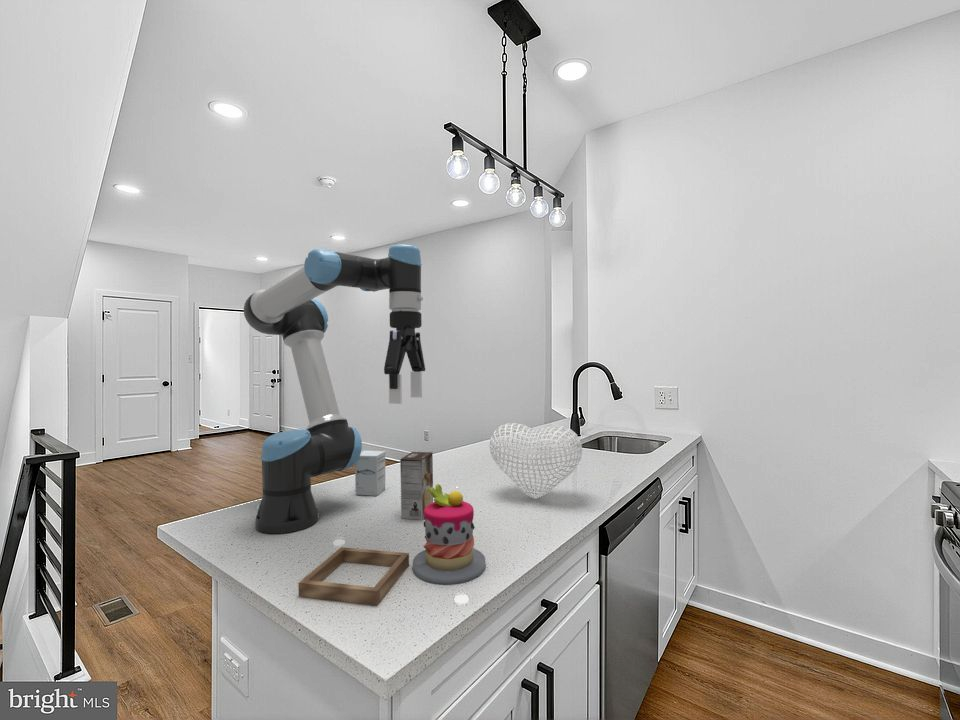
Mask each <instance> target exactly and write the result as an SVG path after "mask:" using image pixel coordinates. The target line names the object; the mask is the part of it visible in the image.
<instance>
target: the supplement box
mask: <svg viewBox="0 0 960 720" xmlns="http://www.w3.org/2000/svg"><path fill="white" fill-rule="evenodd" d="M354 466H355V470H354V471H355V473H354V474H355V475H354V477H355V485H354V486H355V490H354V492H355V496H373V497H378V496H379V495H380V494H381V493H383V492H384V491H385V490H386V450H384V451H383V450H361V454H360V457H359V460H358V461H357V463H356V464H355V465H354Z"/></svg>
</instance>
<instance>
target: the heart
mask: <svg viewBox="0 0 960 720" xmlns="http://www.w3.org/2000/svg"><path fill="white" fill-rule="evenodd" d="M546 433H547V434H546ZM512 434H513V435H512ZM564 438H566V439H564ZM531 439H532V440H531ZM560 439H561V441H560ZM580 439H581V438H580V437H579V436H578V434H577V433H576V432H575V431H574V430H572V429H571V428H570V427H567V426H563V425H551V426H547V427H542V428H537V429H536V428H532V427H530V426H527V425H525V424H523V423H518V422H508V423H504V424H502V425H500V426H498V427H497V428H495V430H494V432H493V433H492V435H491V436H490V439H489V440H490V441H489V451H490V452H489V453H490V454H491V457H492V459H493V461H494V462H495V464H496V466H498V468H499V469H500V470H501V471H502V472H503V473H504V474H505V475H506V476H507V477H508V478H509V479H510V480H511V481H512V482H513V483H514V484H515V485H516V486H517V487H518V488H519V489H520V490H521V491H522V492H523V493H524V494H525V495H526V496H527V497H530V498H531V499H540V498H542V497H544V496H545V495H547V494H549V493H550V492H551V491H553V489H554V488H555V487H557V486H558V485H559V484H560V483H562V482H563V481H564V480H566V479H567V478H568V477H569V476H570V475H571V474H572V473H573V472H574V471H575V469H577V468H578V465H579V463H580V461H581V459H582V456H583V445H582V442H581V440H580ZM547 441H548V443H547ZM539 442H540V443H539ZM542 442H544V443H542ZM569 443H570V444H569ZM557 444H558V445H557ZM565 444H566V446H565ZM547 447H548V448H547ZM552 447H553V448H552ZM526 449H527V450H526ZM530 449H531V451H530ZM557 449H558V450H557ZM506 450H507V451H506ZM534 450H535V452H534ZM538 450H539V451H538ZM511 452H512V453H511ZM558 452H559V453H558ZM520 453H521V454H520ZM515 454H516V455H515ZM524 454H526V456H525V455H524ZM501 455H502V456H501ZM529 455H530V456H529ZM534 455H535V458H534V457H533V456H534ZM538 456H539V458H538ZM543 456H544V457H543ZM543 461H544V462H545V463H543ZM548 461H549V463H548ZM506 462H507V463H506ZM520 465H521V466H520ZM524 466H526V467H524ZM530 466H532V467H530ZM536 466H537V467H536ZM560 467H561V468H560ZM513 469H514V470H513ZM524 470H527V472H524ZM530 471H533V472H530ZM542 472H543V473H542ZM547 472H549V473H547ZM526 475H528V476H526ZM531 475H532V476H533V477H531ZM537 476H538V477H537ZM544 481H546V482H544Z"/></svg>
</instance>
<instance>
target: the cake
mask: <svg viewBox="0 0 960 720" xmlns="http://www.w3.org/2000/svg"><path fill="white" fill-rule="evenodd" d="M429 490H430V493H431V495H432V496H433V503H431V504H429V505H427V506H426V507H425V509H424V519H423V520H424V521H423V527H424V528H425V530H424V531H425V535H424V540H425V541H426V542H425V544H424V545H423V548H424V550H426V564H427V565H428V566H429V567H431V568H433V569H437V570H443V571H452V570H458V569H462V568H465V567H467V566H468V565H470V564H471V563H472V561H473V548H474V547H475V536H474V535H473V534H474V533H473V531H474V530H475V528H476V527H475V525H474V523H473V521H474V516H475V513H474V512H475V511H474V507H473V505H472V504H471V503H469V502H467V501H465V500H464V498H463V497H464V496H463V494H462V492H460V491H459V490H458V491H457V490H453V491H451V492H450V493H447V492H446V493H444V494H443V488H442V486H441V485H440V484H438V483H437V484H435V487H434V486H433V487H431V488H430V489H429Z"/></svg>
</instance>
